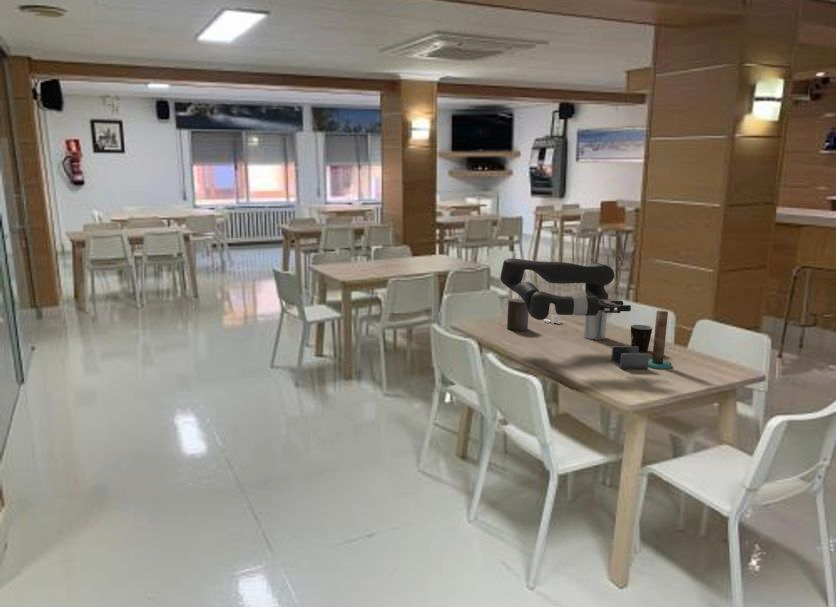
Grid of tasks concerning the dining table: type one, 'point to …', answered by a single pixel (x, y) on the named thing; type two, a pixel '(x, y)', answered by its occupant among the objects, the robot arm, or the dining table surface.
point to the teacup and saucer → (554, 319)
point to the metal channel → (629, 358)
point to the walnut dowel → (659, 337)
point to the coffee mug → (641, 336)
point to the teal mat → (659, 365)
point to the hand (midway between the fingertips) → (626, 305)
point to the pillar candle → (517, 315)
